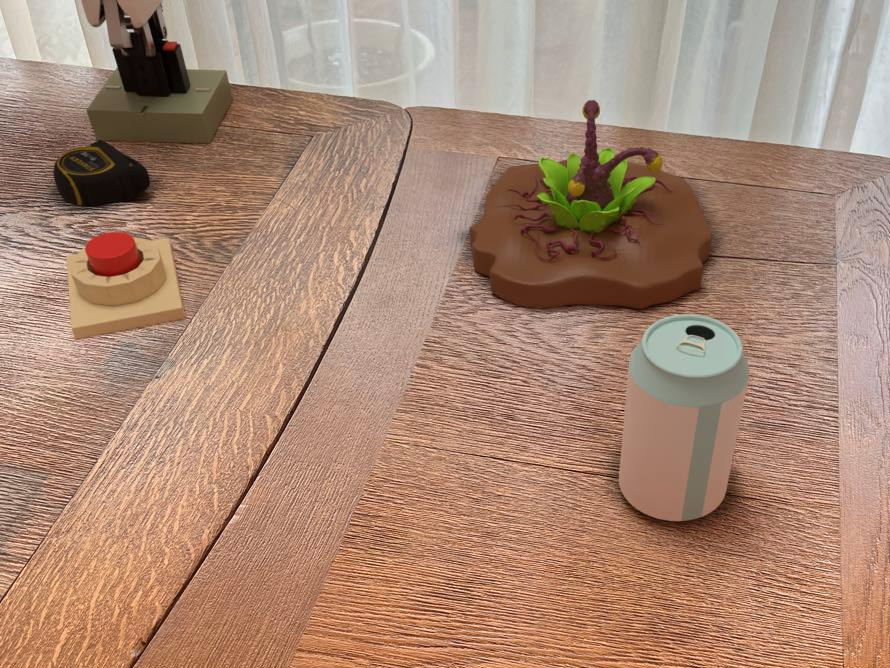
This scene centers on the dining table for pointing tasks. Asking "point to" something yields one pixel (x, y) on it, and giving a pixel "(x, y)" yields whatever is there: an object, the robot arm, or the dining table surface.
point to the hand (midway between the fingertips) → (157, 87)
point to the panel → (162, 111)
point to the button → (112, 254)
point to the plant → (591, 230)
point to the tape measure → (99, 175)
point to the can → (682, 417)
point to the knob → (171, 63)
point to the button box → (124, 292)
